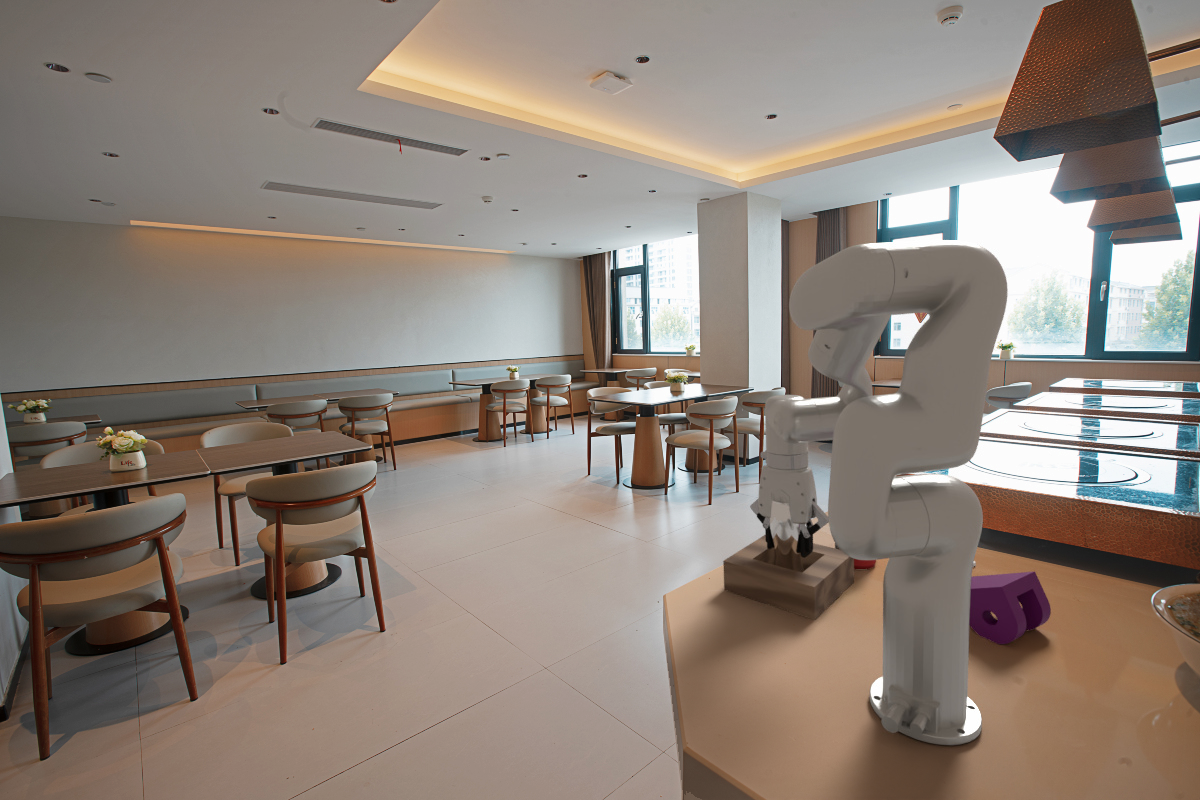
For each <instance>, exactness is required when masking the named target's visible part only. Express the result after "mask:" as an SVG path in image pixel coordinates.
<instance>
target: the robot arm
mask: <svg viewBox="0 0 1200 800" xmlns="http://www.w3.org/2000/svg"><path fill="white" fill-rule="evenodd" d="M1005 273H1006V272H1005V270H1004V269H1003V266H1002V264H1001V262H1000V261H999V259H998V257H996V256H995V255H994V254H993V253H992V252H991V251H989V250H988V249H987V248H985V247H983V246H980V245H978V244H976V243H973V242H968V241H963V240H962V241H961V240H949V239H946V240H945V239H944V240H943V239H935V240H934V239H932V240H915V241H914V240H913V241H912V240H911V241H897V242H895V241H893V242H874V243H873V242H872V243H862V244H857V245H851V246H848V247H845V248H843V249H842V250H840V251H838V252H836V253H834V254H833V255H831V256H829V257H827V258H825V259H823V260H822V261H820V262H818V263H816V264H815V265H813V266H810V267H809V268H808V269H807V270H805V271H804V272H803V273H802V274H801V275H800V276H799V278H798V279H797V280H796V282H795V284H794V286H792V287H793V288H792V289H791V291H790V297H789V302H788V309H789V310H788V311H789V315H790V318H791V321H792V322H793V323H794V325H795V326H797V327H798V329H801V330H804V331H816V332H815V334H814V335H813V339H812V340H811V343H810V345H809V347H808V351H807V356H808V357H807V358H808V360H809V362H810V364H811V366H812V367H813V368H814V369H815V370H816V371H817V372H819V373H820V374H822V376H823V375H824V376H825V377H827V378H829V379H830V380H831V379H832V380H833V381H836V382H840V383H842V384H843V385H842V387H841V388H840V391H839V392H838V394H837V395H836V396H825V397H814V398H812V397H811V398H805V397H803V396H801V395H798V394H797V395H796V394H778V395H771V396H770V397H768V398H767V399H766V401H765V404H764V405H765V406H764V407H765V408H764V410H765V411H764V413H765V415H764V416H765V417H764V418H765V419H764V420H765V451H761V452H760V453H759V454H760V458H761V459H764V460H765V465H762V467H761V473H760V478H759V487H758V498H757V499H755V501H754V502H753V503H751V504H750V505H749V506H750V510H751V511H752V512H753V513H754V515H756V519H758V521H760V523H761V524H762V528H763V529H764V530H765V534H764V535H765V536H766V542H767V548H768V549H772V548H773V547H774V546H773V542H772V537H771V532H770V526H769V518H771V509H772V500H773V501H777V502H782V503H788V505H789V507H790V508H789V511H790V517H791V522H793V523H795V524H801V530H802V533H803V536H802V537H801V539H800V541H801V556H802V557H803V558H805V557H807V556H808V555H809V554H811V552H812V551H813V543H814V535H815V534H816V533H817V532H819V530H821V529H822V528H823V527H824V526H826V525H827V524H828V526H829V531H830V534H831V537H832V540H833V542H834V544H835V543H836V545H837V547H838V548H839V549H840V550H841V551H842V552H843V553H844V554H846V555H847V556H849V557H851V558H854V559H858V560H876V561H878V560H886V559H888V561H887V564H886V566H885V570H884V575H883V581H882V676H880V677H877V678H876V679H875V680H874V681H873V682H872V683H871V685H870V687H869V702H870V705H871V707H872V709H873V711H874V712H875V714H876V715H877V716H878V717H879V718H880V719H881V721H880V722H881V725H882V727H883V729H885V730H886V731H887V732H889V733H891V734H895V733H898V732H900V733H901V734H903V735H906V736H908V737H910V738H913V739H915V740H916V741H917V740H918V741H921V742H924V743H928V744H934V745H938V746H939V745H941V746H942V745H943V746H956V745H962V744H963V745H964V744H966V743H970V742H972V741H974V740H975V739H976V738H978V737H979V735H980V734H981V731H982V726H983V718H982V713H981V711H980V710H979V708H978V706H977V705H976V703H974V701H973V700H972V699H971V698H969V697H968V693H969V692H968V691H969V689H968V688H969V686H968V685H969V657H970V656H969V653H970V651H969V649H970V648H969V647H970V625H969V618H970V593H971V577H973V568H974V567H973V562H974V561H975V556H976V553H977V549H978V546H979V543H980V539H981V535H982V530H983V523H984V521H983V520H984V519H983V518H984V516H983V509H982V505H981V502H980V499H979V497H978V496H977V494H976V493H975V491H974V490H973V489H972V487H970V486H969V485H968V484H967V483H966V482H964V481H963V480H961V479H959V478H957V477H954V476H951V475H946V474H943V473H942V474H941V473H928V472H935V471H941V470H942V471H943V470H949V469H954V468H958V467H961V466H963V465H965V464H967V463H969V462H970V461H971V460H972V458H973V457H974V455H975V454H976V452H977V449H978V446H979V440H980V435H981V430H982V425H983V418H984V411H985V404H986V397H987V391H988V385H989V379H990V378H989V375H990V367H991V363H992V357H993V351H994V349H995V345H996V341H997V339H998V337H999V333H1000V332H999V331H1000V329H1001V326H1002V323H1003V320H1004V316H1005V312H1006V307H1007V302H1008V292H1009V291H1008V282H1007V276H1006V274H1005ZM921 313H925V314H928V315H929V318H928V319H927V320H926V321H925V322H924V323H923V324H922V325H921V326H920V328H919V329H918V330H917V332H916V333H915V334H914V336H913V337H912V339H911V341H910V342H909V344H908V347H907V348H906V351H905V352H904V353H905V355H904V359H903V365H902V376H901V380H900V381H901V382H900V386H899V389H898V390H897V391H896V392H894V393H888V394H877V395H875V394H874V395H873V384H872V379H871V377H870V375H869V372H868V370H867V369H866V367H865V366H866V364H867V362H868V360H869V359H870V357H871V356H872V353H873V351H874V349H875V347H876V345H877V343H878V342H879V340H880V337H881V336H882V334H883V332H884V330H885V329H886V327H887V324H888V323H889V321H890V319H891V317H892V316H894V315H907V314H908V315H909V314H921ZM820 441H822V442H823V441H832V445H831V446H832V448H831V459H830V470H829V471H830V472H829V474H830V475H829V485H828V486H829V487H828V499H827V500H828V503H827V514H826V513H825V512H824V510H823V509H822V508H821V507H820V506H819V505H818V501H817V500H818V498H817V488H816V482H815V477H814V474H813V473H814V472H813V469H812V467H810V466H809V443H812V442H813V443H814V442H820ZM925 472H927V473H925ZM907 474H908V475H907ZM815 518H816V519H817V521H816V522H815V523H813V521H812V519H815ZM806 523H807V524H806Z"/></svg>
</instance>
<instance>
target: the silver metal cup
mask: <svg viewBox="0 0 1200 800" xmlns="http://www.w3.org/2000/svg"><path fill="white" fill-rule="evenodd" d="M789 508H790V507H789V505H788V503H782V502H777V501H773V500H772V509H771V518H769V526H770V532H771V537H772V542H773V546H774V553H775V558H774V565H776V566H780V567H783V568H787V569H791V570H794V571H798V572H801V573H802V572H804V571H805V566H804V561H803V557H802V556H801V541H800V539H801V537H802V536H803V533H802V530H801V524H795V523H793V522H791V517H790V511H789ZM806 524H807V523H806Z"/></svg>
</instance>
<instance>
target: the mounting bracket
mask: <svg viewBox="0 0 1200 800" xmlns="http://www.w3.org/2000/svg"><path fill="white" fill-rule="evenodd" d="M1049 601H1050V600H1049V599H1048V597H1047V594H1046V593H1045V591H1044V589H1043V586H1042V584H1041V581H1040V579H1039V577H1038V576H1037V573H1036V571H1025V572H1023V571H1022V572H1012V573H1011V572H1010V573H1000V574H999V573H998V574H985V575H977V576H975V575H974V576H973V575H972V577H971V593H970V618H969V627H970V628H971V629H972V630H973V632H975V633H976V634H977V635H978V636H979V637H981V638H984V639H986V640H989V641H990V642H992V643H995V644H998V645H1006V644H1010V643H1011V642H1013V641H1015V640H1017V639H1019V638H1021V637H1022V636H1023V635H1024V634H1025V632H1026V631H1027V632H1028V631H1032V630H1035V629H1037V628H1038V627H1039V628H1040V627H1041V626H1042V625H1044V624H1046V623H1047V622H1048V621H1049V619H1050V616H1051V603H1050V602H1049ZM992 614H993V615H994V616H995V617H994V616H993V615H992Z"/></svg>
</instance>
